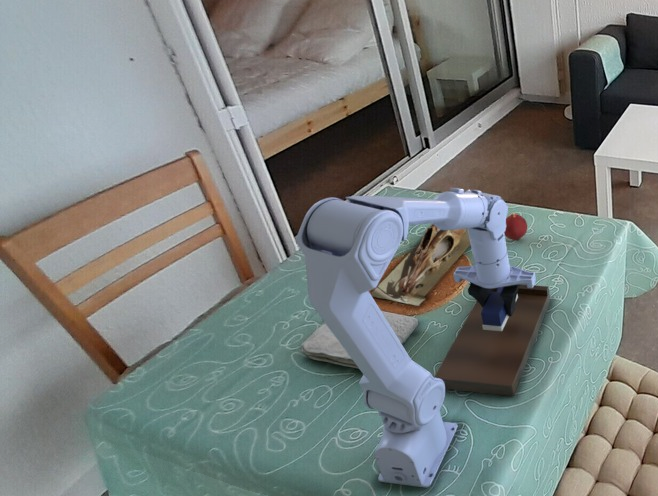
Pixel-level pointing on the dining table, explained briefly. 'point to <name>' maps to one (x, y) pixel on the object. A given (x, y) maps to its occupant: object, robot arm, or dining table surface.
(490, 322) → the trainer
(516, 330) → the shoe shelf
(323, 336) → the washcloth
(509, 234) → the onion
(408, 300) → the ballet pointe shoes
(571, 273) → the dining table surface
